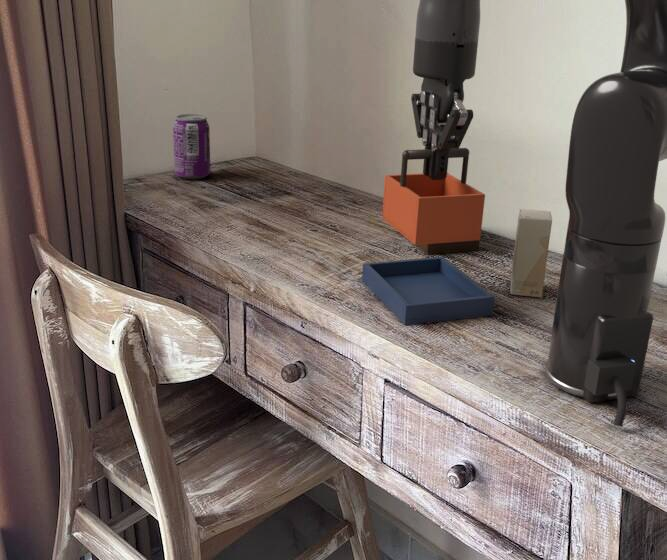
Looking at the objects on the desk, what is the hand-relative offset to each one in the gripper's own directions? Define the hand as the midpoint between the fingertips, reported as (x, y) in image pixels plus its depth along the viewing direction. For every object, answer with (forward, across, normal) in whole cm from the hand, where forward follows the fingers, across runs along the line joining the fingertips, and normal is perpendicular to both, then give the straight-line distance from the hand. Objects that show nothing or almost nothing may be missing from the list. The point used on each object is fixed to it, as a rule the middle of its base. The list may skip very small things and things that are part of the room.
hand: (434, 176), depth 104 cm
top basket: (+7, 0, 0) cm, 7 cm away
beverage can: (+17, -69, -20) cm, 74 cm away
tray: (+17, 0, 0) cm, 17 cm away
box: (+17, +1, +15) cm, 23 cm away
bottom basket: (+17, -21, +12) cm, 29 cm away
